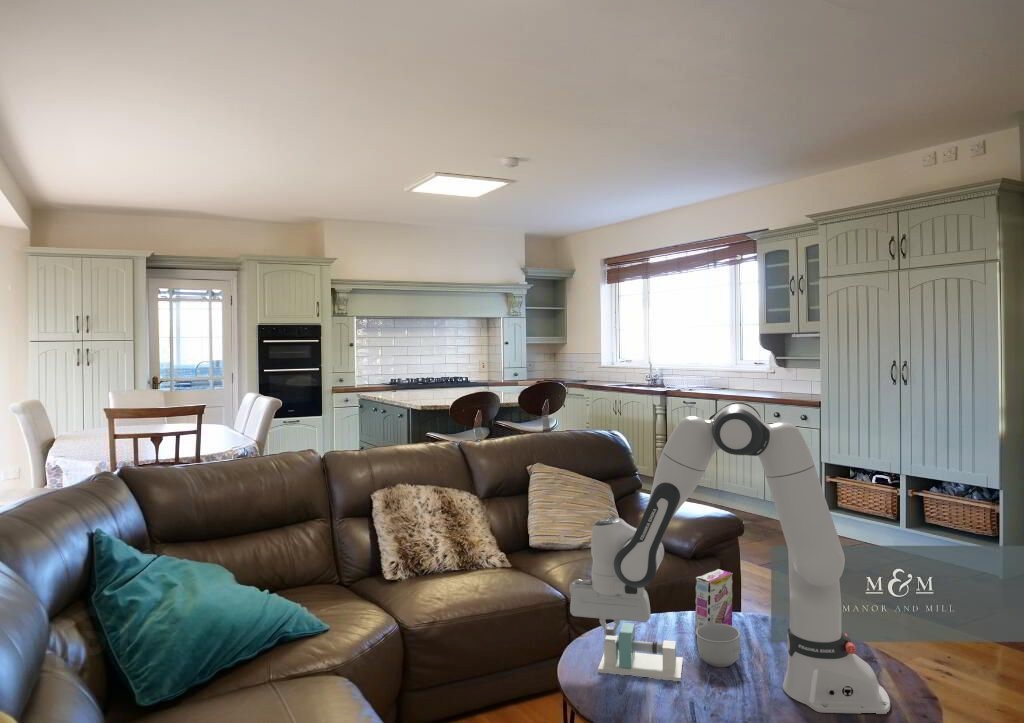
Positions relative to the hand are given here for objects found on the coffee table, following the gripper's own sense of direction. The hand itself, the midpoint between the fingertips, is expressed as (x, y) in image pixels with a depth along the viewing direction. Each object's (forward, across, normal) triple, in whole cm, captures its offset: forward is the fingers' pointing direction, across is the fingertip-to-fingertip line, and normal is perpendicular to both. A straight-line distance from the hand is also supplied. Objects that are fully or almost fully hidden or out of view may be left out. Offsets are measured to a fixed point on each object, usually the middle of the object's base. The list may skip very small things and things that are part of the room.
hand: (610, 634), depth 185 cm
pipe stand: (+8, +8, 0) cm, 11 cm away
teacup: (+8, +26, +9) cm, 29 cm away
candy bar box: (+8, +25, +25) cm, 36 cm away
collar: (+6, +4, 0) cm, 7 cm away
